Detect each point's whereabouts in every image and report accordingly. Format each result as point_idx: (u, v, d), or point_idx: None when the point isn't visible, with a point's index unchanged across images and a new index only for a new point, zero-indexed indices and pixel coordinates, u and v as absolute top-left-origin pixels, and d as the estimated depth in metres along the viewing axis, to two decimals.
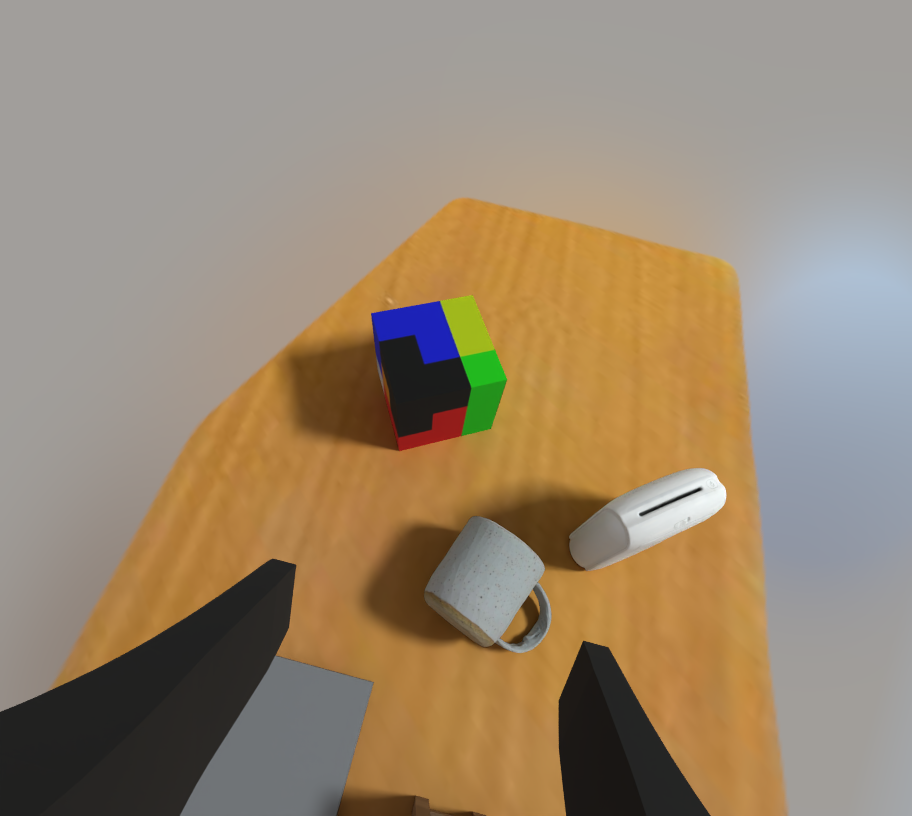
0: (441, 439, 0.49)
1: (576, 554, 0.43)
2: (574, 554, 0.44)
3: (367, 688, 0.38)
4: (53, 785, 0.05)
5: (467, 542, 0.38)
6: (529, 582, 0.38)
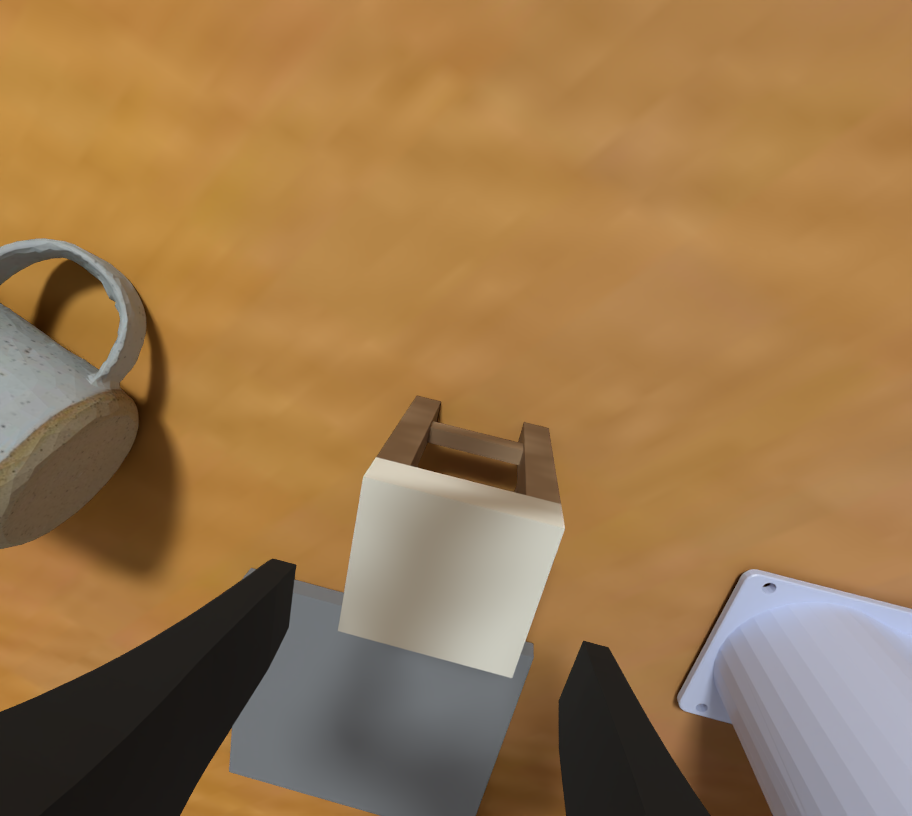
0: None
1: None
2: None
3: None
4: (53, 785, 0.05)
5: None
6: None
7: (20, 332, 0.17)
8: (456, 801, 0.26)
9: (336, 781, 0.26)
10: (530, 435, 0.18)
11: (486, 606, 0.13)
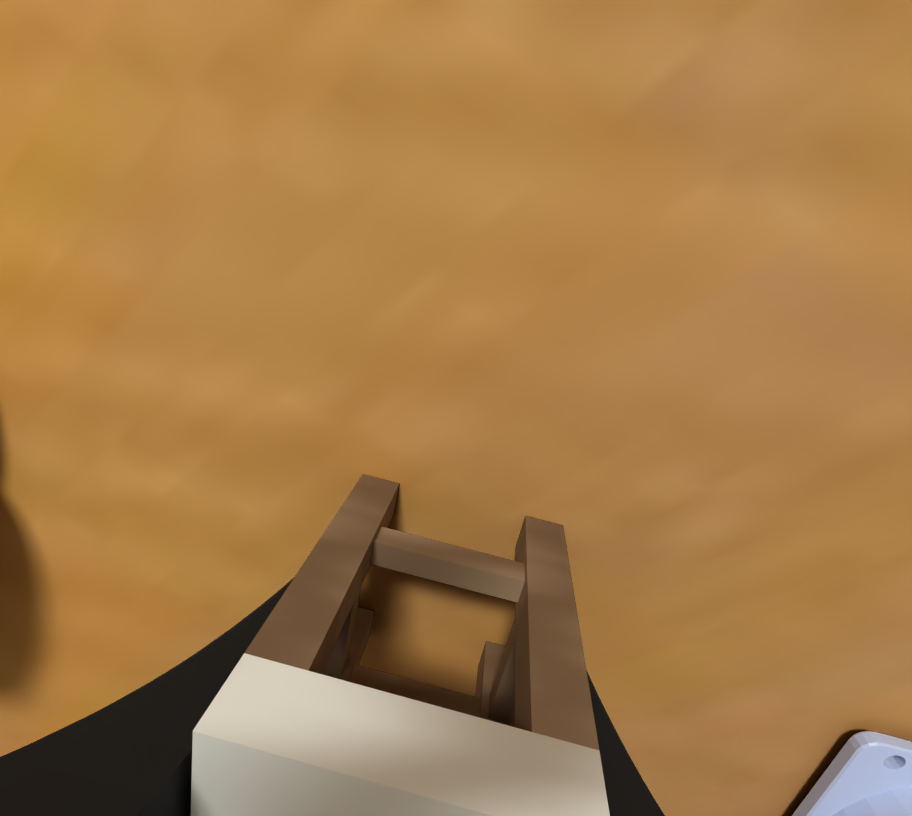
0: None
1: None
2: None
3: None
4: (124, 806, 0.05)
5: None
6: None
7: None
8: None
9: None
10: (535, 547, 0.11)
11: None
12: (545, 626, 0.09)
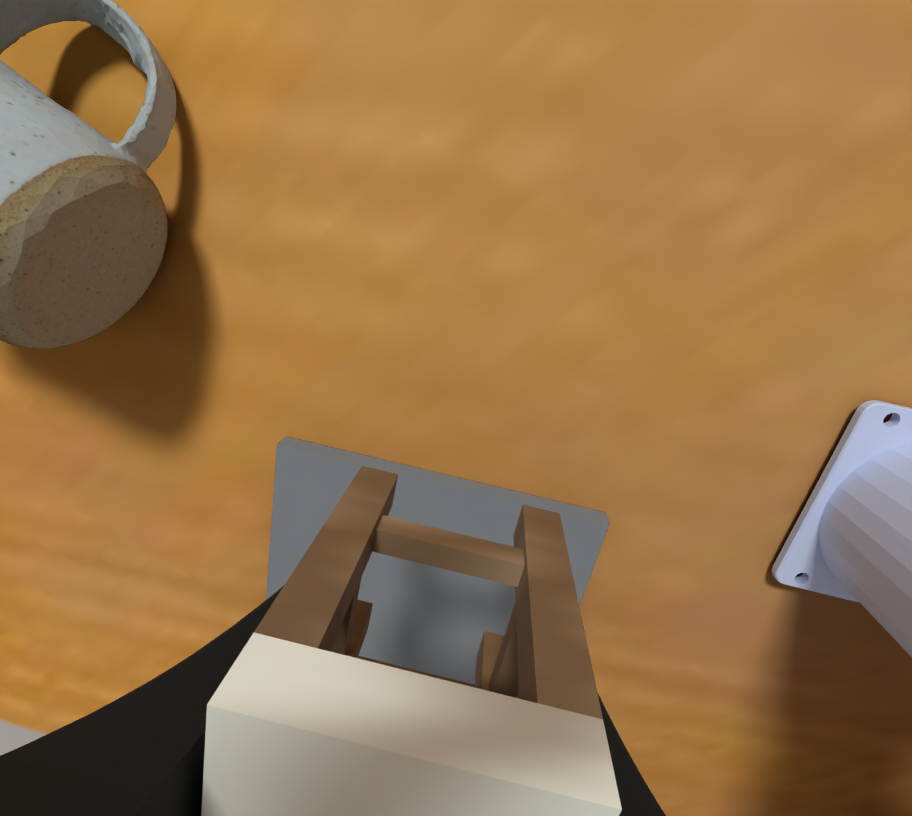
0: None
1: None
2: None
3: (287, 452, 0.20)
4: (122, 805, 0.05)
5: None
6: None
7: (30, 85, 0.14)
8: None
9: None
10: (534, 533, 0.11)
11: None
12: (546, 606, 0.09)
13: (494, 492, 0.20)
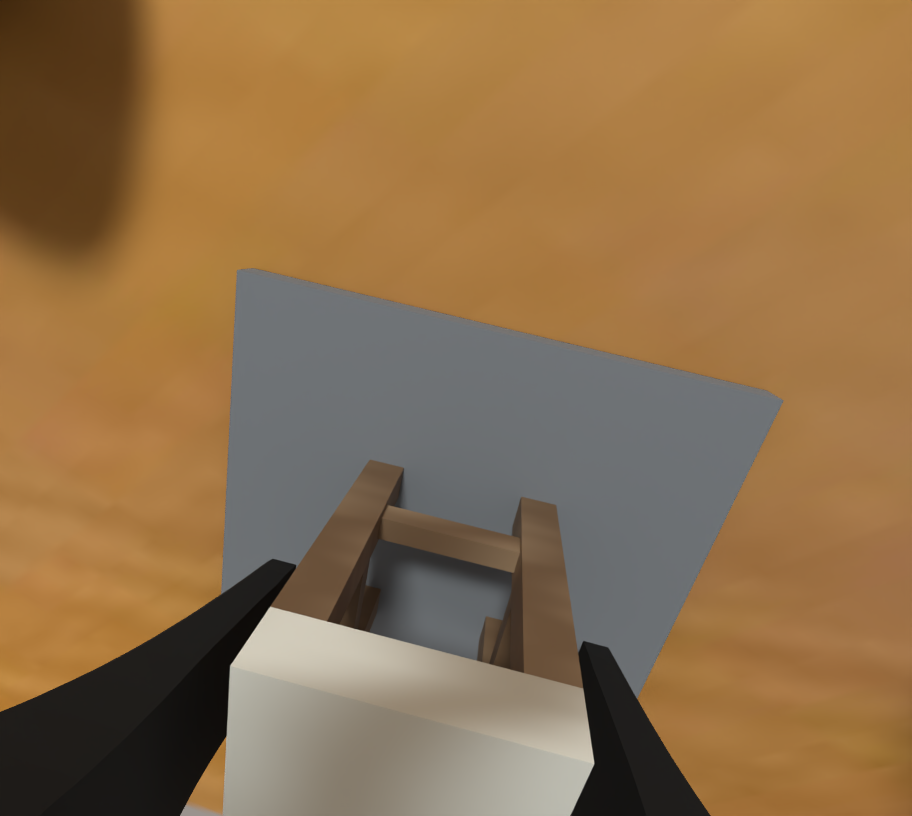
0: None
1: None
2: None
3: (254, 285, 0.12)
4: (53, 785, 0.05)
5: None
6: None
7: None
8: None
9: None
10: (529, 523, 0.12)
11: None
12: (537, 589, 0.10)
13: (590, 352, 0.12)
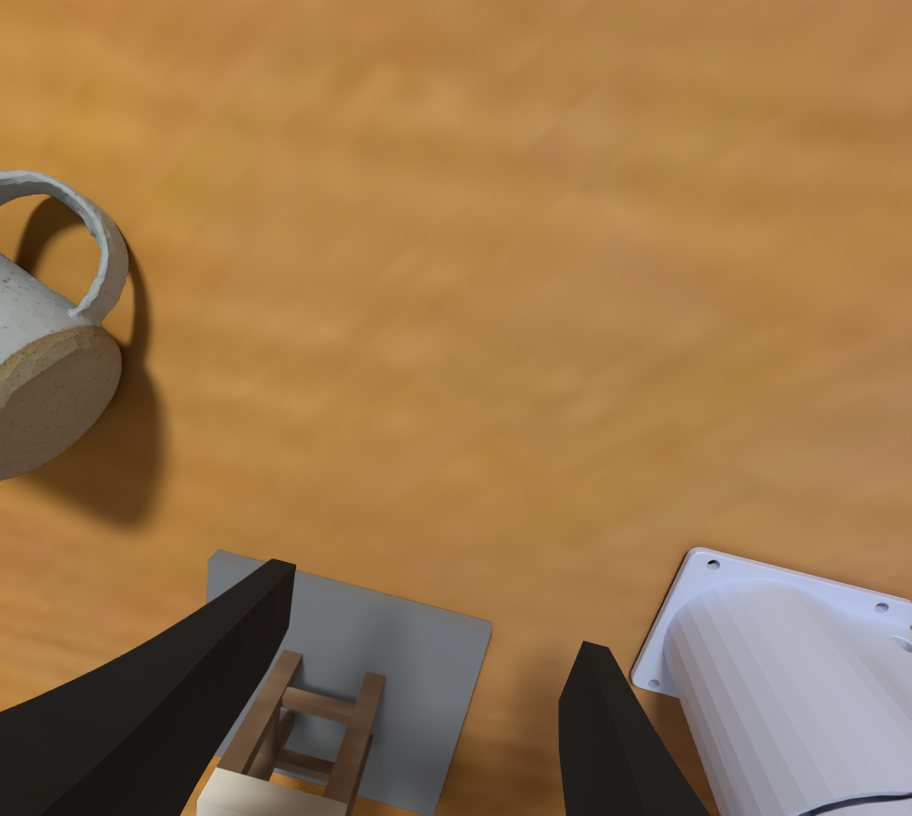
0: None
1: None
2: None
3: (217, 567, 0.23)
4: (53, 785, 0.05)
5: None
6: None
7: None
8: (422, 779, 0.26)
9: None
10: (363, 694, 0.23)
11: None
12: (348, 745, 0.21)
13: (394, 604, 0.23)
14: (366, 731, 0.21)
